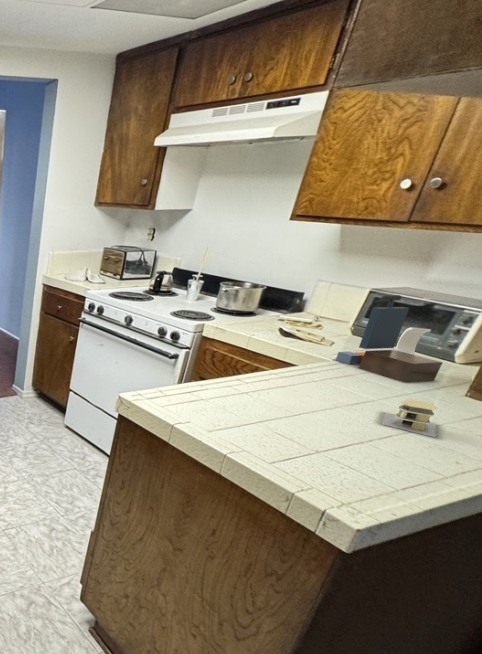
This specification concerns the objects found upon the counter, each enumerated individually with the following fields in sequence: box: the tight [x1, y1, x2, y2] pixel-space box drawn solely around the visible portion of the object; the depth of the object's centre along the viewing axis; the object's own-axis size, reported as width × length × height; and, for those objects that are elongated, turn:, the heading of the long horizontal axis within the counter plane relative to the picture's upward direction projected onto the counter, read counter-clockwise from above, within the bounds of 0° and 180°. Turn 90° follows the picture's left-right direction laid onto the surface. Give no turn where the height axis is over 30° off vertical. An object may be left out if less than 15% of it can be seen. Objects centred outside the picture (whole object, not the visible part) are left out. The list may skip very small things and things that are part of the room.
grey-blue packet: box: [335, 351, 363, 365], centre depth 160 cm, size 3×4×4 cm
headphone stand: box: [395, 326, 432, 355], centre depth 161 cm, size 5×6×12 cm
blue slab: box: [358, 294, 410, 350], centre depth 151 cm, size 17×11×3 cm
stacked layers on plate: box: [381, 398, 437, 438], centre depth 113 cm, size 10×9×6 cm
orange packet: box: [355, 351, 366, 365], centre depth 159 cm, size 3×4×4 cm
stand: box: [358, 349, 443, 383], centre depth 148 cm, size 13×11×6 cm
